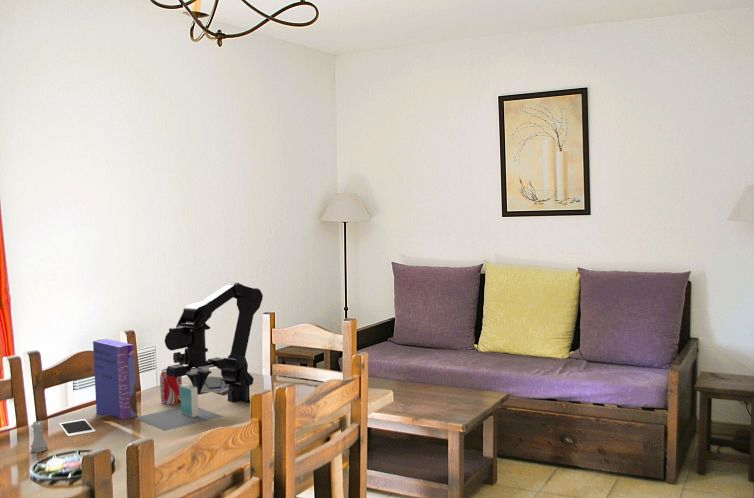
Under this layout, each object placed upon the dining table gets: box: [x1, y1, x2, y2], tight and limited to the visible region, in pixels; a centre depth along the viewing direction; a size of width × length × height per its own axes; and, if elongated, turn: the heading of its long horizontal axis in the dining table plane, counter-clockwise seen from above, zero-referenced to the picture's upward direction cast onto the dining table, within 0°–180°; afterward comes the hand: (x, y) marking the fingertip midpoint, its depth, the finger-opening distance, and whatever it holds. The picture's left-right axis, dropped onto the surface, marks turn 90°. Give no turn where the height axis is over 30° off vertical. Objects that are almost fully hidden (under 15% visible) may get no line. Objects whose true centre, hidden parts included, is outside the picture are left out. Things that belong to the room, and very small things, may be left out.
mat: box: [133, 406, 224, 431], centre depth 237 cm, size 20×20×1 cm
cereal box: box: [92, 338, 138, 420], centre depth 243 cm, size 17×5×24 cm, turn 47°
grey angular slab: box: [197, 376, 229, 396], centre depth 279 cm, size 16×2×21 cm
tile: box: [180, 383, 199, 417], centre depth 239 cm, size 2×7×9 cm, turn 43°
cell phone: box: [58, 418, 97, 437], centre depth 232 cm, size 8×16×1 cm, turn 32°
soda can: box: [159, 368, 183, 405], centre depth 256 cm, size 7×7×12 cm
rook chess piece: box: [30, 420, 49, 453], centre depth 211 cm, size 4×4×8 cm
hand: (198, 393), depth 241 cm, fingers closed
